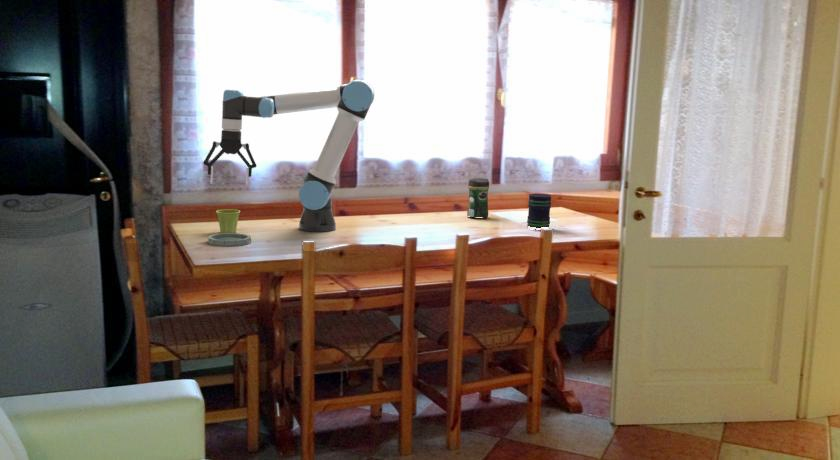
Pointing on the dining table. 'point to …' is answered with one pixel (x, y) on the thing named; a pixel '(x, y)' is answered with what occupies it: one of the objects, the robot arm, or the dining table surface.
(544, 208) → the storage jar
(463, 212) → the dining table surface
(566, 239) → the dining table surface
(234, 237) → the saucer
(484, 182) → the coffee jar
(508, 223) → the dining table surface
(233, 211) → the plant pot
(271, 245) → the dining table surface
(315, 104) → the robot arm
